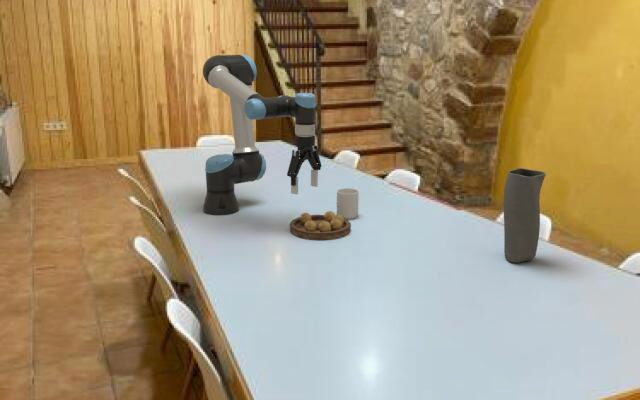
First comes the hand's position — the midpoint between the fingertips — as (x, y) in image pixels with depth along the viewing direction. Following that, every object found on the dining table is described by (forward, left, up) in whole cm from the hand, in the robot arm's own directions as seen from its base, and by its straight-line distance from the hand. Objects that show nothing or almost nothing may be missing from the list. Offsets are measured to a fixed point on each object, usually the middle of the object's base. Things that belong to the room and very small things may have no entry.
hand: (304, 189), depth 225 cm
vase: (+79, +10, -15) cm, 81 cm away
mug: (+6, +22, -15) cm, 27 cm away
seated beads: (+11, 0, -14) cm, 18 cm away
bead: (+1, 0, -14) cm, 14 cm away
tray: (+7, 0, -15) cm, 17 cm away
